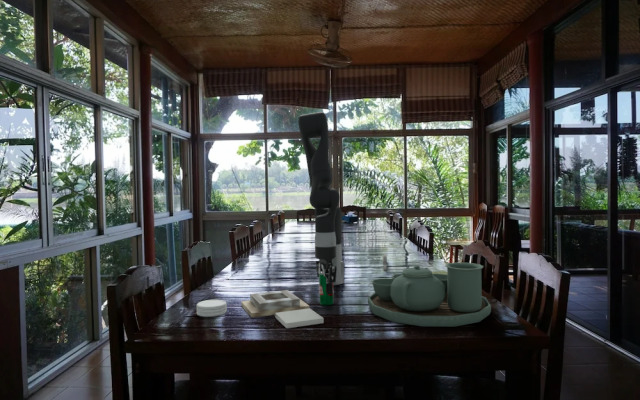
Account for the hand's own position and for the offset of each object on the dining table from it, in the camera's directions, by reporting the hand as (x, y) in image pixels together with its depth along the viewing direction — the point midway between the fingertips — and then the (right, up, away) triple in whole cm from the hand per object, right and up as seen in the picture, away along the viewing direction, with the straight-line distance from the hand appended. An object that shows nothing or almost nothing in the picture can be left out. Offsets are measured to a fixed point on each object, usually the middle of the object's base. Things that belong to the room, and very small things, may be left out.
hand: (326, 291), depth 156 cm
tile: (-9, -5, -18) cm, 20 cm away
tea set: (+34, -5, -8) cm, 35 cm away
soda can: (0, -5, 0) cm, 5 cm away
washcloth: (+47, -3, +36) cm, 60 cm away
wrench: (+31, -2, +69) cm, 76 cm away
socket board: (-18, -5, -3) cm, 19 cm away
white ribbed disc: (-39, -6, -7) cm, 40 cm away
